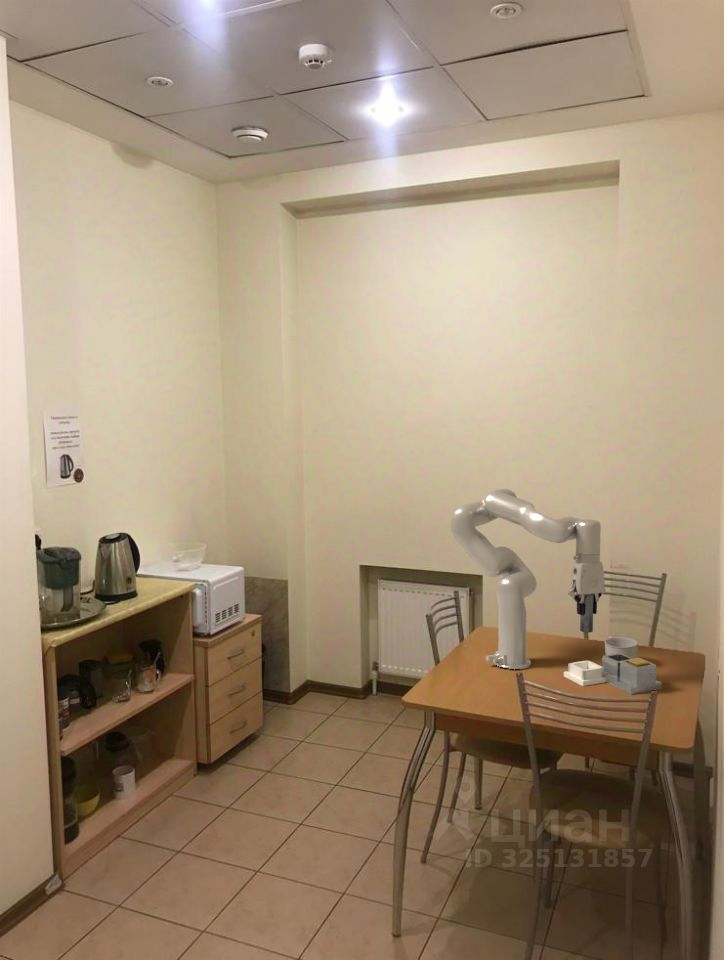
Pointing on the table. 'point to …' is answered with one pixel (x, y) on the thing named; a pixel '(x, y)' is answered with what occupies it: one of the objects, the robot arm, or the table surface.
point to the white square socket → (585, 673)
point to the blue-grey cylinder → (587, 614)
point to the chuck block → (629, 674)
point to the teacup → (621, 646)
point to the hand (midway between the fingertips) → (586, 613)
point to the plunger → (638, 662)
